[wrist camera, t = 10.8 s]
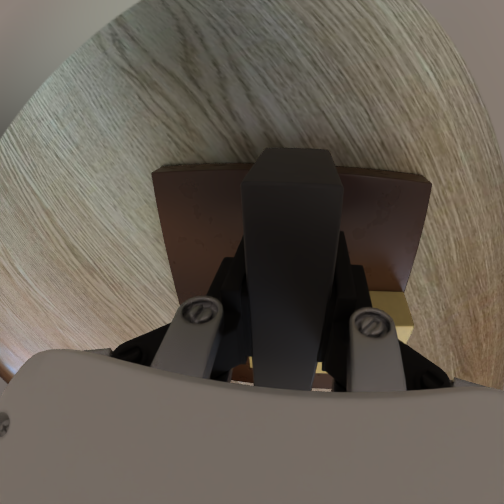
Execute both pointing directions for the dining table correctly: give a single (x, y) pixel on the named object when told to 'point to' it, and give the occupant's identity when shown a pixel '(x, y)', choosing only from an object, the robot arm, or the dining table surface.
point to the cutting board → (231, 227)
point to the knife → (289, 260)
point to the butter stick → (391, 314)
